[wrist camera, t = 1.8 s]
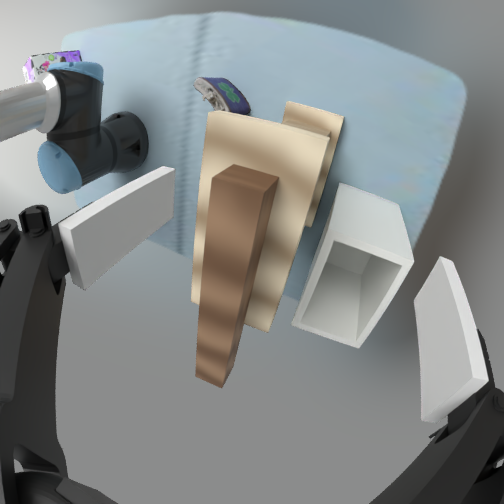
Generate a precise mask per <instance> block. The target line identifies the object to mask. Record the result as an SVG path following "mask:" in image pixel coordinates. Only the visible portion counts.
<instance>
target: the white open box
mask: <svg viewBox="0 0 504 504" xmlns="http://www.w3.org/2000/svg"><path fill="white" fill-rule="evenodd" d="M413 263H414V259H413V254H412V250H411V246H410V242H409V239H408V235H407V231H406V228H405V224H404V221H403V217H402V214H401V210H400V207H399V204H397V203H394V202H392V201H389V200H387V199H384V198H382V197H379V196H377V195H374V194H371V193H369V192H366V191H363V190H361V189H358V188H355V187H353V186H350V185H347V184H344V183H341V182H339V186H338V189H337V192H336V195H335V198H334V201H333V204H332V207H331V210H330V213H329V216H328V219H327V222H326V224H325V227H324V230H323V233H322V236H321V239H320V242H319V244H318V247H317V250H316V253H315V255H314V258H313V261H312V264H311V267H310V270H309V273H308V276H307V279H306V282H305V285H304V288H303V291H302V294H301V297H300V300H299V303H298V306H297V309H296V312H295V314H294V317H293V320H292V323H291V325H292V326H295V327H298V328H301V329H303V330H306V331H309V332H311V333H315V334H317V335H320V336H323V337H326V338H329V339H332V340H335V341H338V342H341V343H344V344H346V345H349V346H352V347H356V348H360V346H361V345H362V344H363V342H364V341H365V339H366V338H367V337H368V335H369V334H370V332H371V331H372V329H373V328H374V326H375V325H376V323H377V322H378V320H379V319H380V317H381V316H382V314H383V313H384V311H385V310H386V308H387V307H388V305H389V303H390V302H391V300H392V299H393V297H394V295H395V294H396V292H397V290H398V289H399V287H400V285H401V284H402V282H403V280H404V278H405V277H406V275H407V273H408V272H409V270H410V268H411V266H412V264H413Z"/></svg>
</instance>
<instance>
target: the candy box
mask: <svg viewBox="0 0 504 504" xmlns="http://www.w3.org/2000/svg"><path fill="white" fill-rule="evenodd" d="M59 62H82V60H81V57H80V53H79V50H77V51H65V52H55V53H47V54H39V55H33V56H30V58H29V59H28V61H27V62H26V64H25V65H24V67H23V69H22V70H23V73H24V78H25V83H26V84H28V83H33V82H34V80H35V79H36V77H37V76H38V75H39V74H41V73H43V72H47V69H48V67H49V65H51V64H53V63H59Z"/></svg>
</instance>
